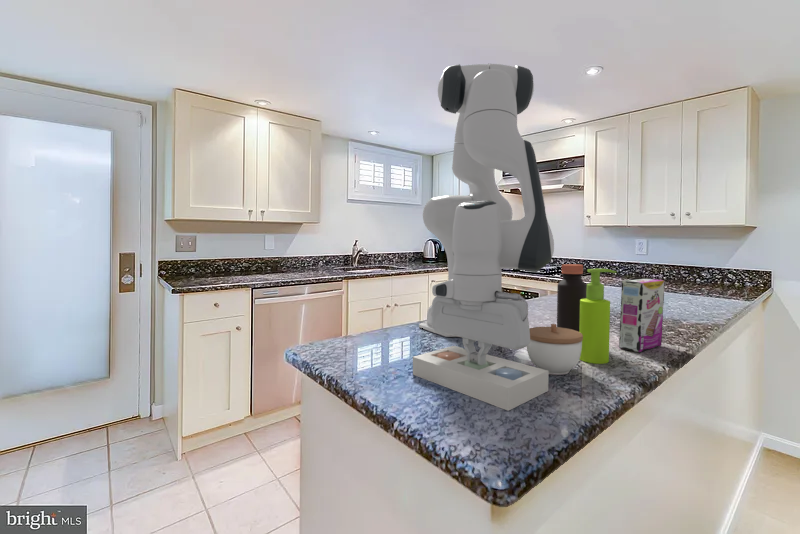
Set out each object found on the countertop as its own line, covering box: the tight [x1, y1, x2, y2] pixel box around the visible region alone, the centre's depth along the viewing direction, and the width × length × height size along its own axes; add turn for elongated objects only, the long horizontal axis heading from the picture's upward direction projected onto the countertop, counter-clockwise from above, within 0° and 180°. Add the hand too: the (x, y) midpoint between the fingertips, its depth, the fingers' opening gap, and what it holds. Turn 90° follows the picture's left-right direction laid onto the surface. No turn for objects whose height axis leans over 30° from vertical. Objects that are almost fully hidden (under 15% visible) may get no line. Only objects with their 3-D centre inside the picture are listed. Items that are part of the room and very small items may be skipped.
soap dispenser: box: [579, 267, 618, 365], centre depth 84 cm, size 6×7×20 cm
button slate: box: [496, 368, 522, 380], centre depth 67 cm, size 4×4×3 cm
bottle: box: [556, 263, 587, 332], centre depth 98 cm, size 7×7×20 cm
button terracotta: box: [437, 352, 460, 361], centre depth 78 cm, size 4×4×3 cm
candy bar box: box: [618, 278, 666, 353], centre depth 94 cm, size 11×5×16 cm, turn 123°
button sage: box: [464, 360, 489, 370], centre depth 72 cm, size 4×4×3 cm
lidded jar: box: [526, 323, 583, 376], centre depth 79 cm, size 11×11×9 cm
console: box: [412, 345, 549, 412], centre depth 72 cm, size 22×12×4 cm, turn 40°
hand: (476, 363), depth 72 cm, fingers closed, pressing on button sage
